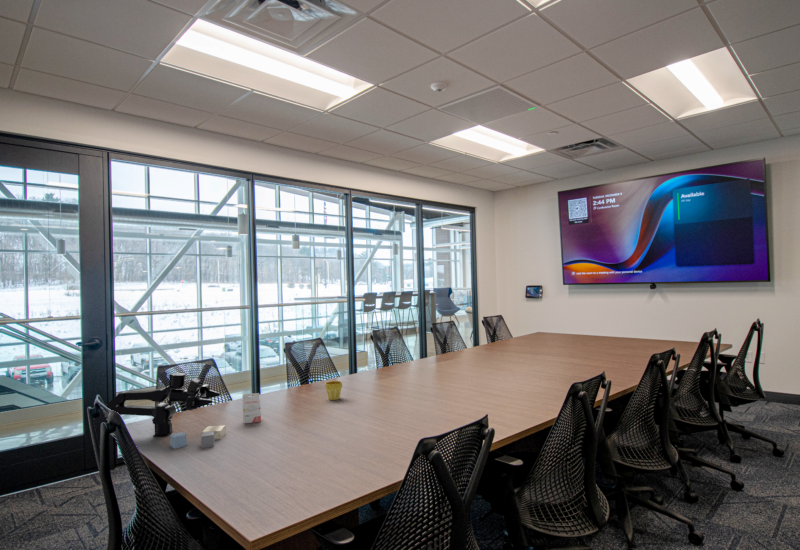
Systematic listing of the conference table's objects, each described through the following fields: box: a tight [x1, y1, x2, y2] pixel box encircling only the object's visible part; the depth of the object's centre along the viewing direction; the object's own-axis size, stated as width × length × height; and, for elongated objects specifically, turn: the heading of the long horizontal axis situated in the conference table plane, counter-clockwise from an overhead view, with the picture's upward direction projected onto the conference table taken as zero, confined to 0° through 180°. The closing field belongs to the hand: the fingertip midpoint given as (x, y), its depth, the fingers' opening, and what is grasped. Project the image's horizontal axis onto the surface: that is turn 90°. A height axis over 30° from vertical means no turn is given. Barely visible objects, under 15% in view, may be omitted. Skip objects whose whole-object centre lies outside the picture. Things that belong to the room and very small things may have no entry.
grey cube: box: [200, 431, 216, 448], centre depth 196 cm, size 5×5×5 cm
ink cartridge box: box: [242, 392, 262, 424], centre depth 229 cm, size 9×5×15 cm, turn 105°
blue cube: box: [169, 431, 188, 450], centre depth 196 cm, size 5×5×5 cm
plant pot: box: [324, 380, 343, 401], centre depth 270 cm, size 10×10×10 cm
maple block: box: [201, 425, 227, 440], centre depth 207 cm, size 8×8×4 cm
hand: (216, 397), depth 213 cm, fingers open, 9 cm apart
